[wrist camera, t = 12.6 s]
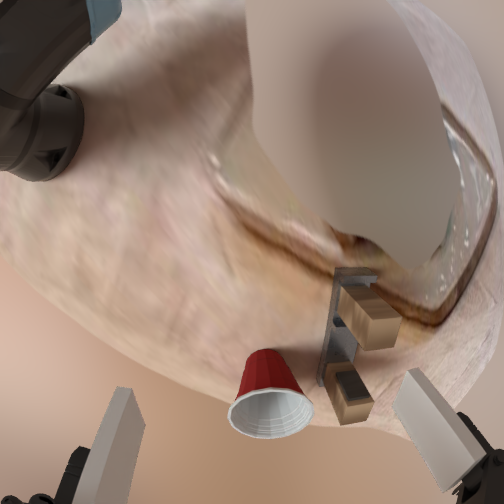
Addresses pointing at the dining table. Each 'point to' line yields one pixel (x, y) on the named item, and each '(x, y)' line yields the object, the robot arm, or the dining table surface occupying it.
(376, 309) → the tan wooden block
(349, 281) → the rail
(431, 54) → the dining table surface
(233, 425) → the plastic cup
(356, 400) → the block
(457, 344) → the dining table surface
